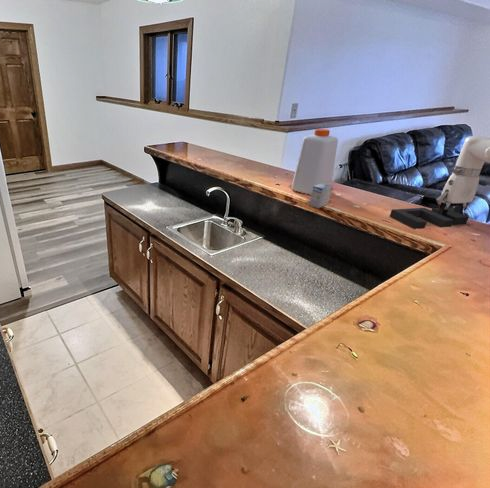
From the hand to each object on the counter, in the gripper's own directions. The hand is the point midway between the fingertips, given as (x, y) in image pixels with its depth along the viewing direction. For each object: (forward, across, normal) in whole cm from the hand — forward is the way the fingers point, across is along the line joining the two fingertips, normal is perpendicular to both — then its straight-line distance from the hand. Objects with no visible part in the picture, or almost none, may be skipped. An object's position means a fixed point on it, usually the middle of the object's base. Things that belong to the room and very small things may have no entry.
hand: (447, 217), depth 135 cm
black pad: (+1, 0, 0) cm, 1 cm away
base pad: (+1, -13, -1) cm, 13 cm away
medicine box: (+1, -41, +22) cm, 46 cm away
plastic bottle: (+1, -34, +41) cm, 53 cm away
